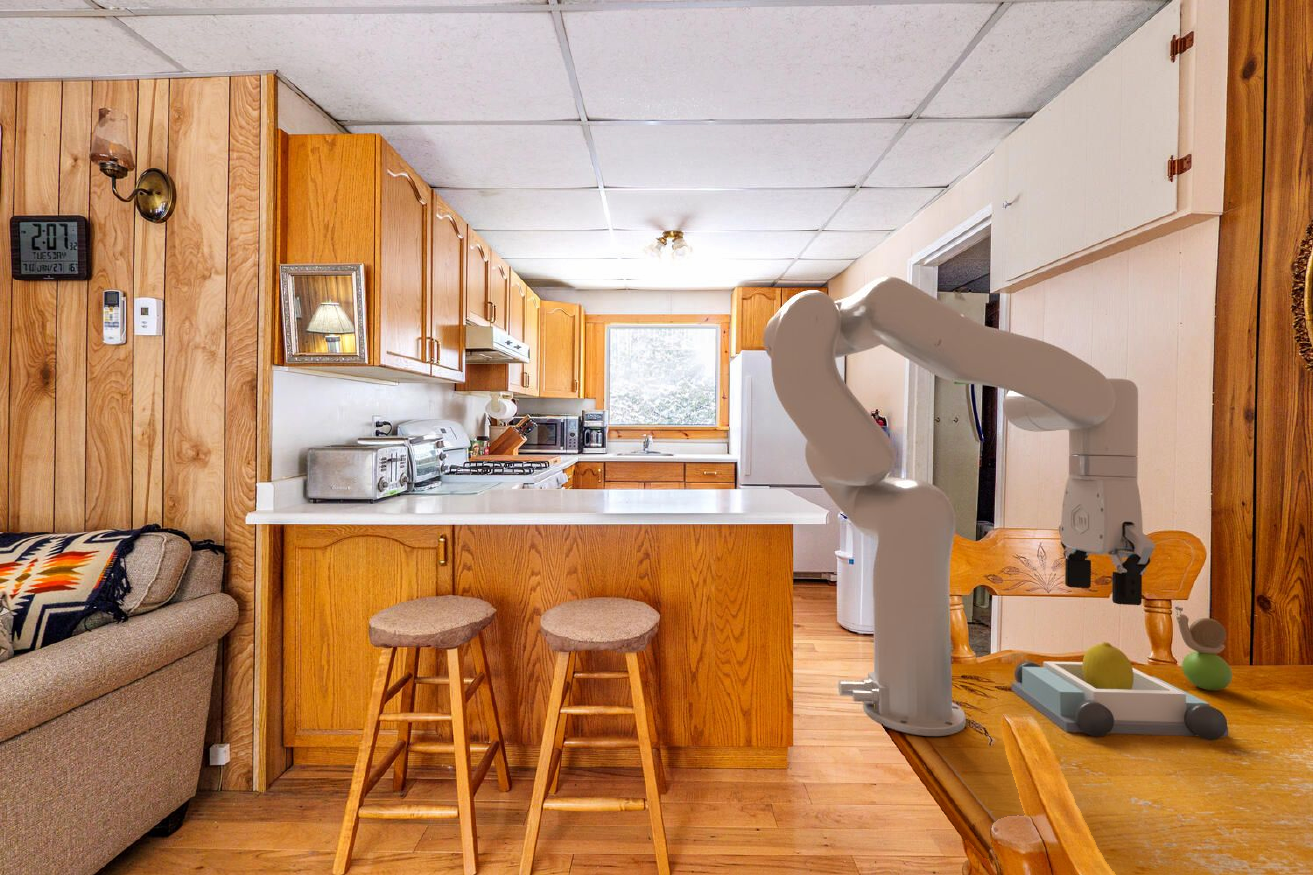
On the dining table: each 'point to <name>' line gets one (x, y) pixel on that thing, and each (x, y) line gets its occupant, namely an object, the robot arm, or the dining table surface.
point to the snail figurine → (1204, 653)
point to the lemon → (1107, 668)
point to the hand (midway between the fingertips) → (1100, 595)
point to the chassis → (1115, 704)
